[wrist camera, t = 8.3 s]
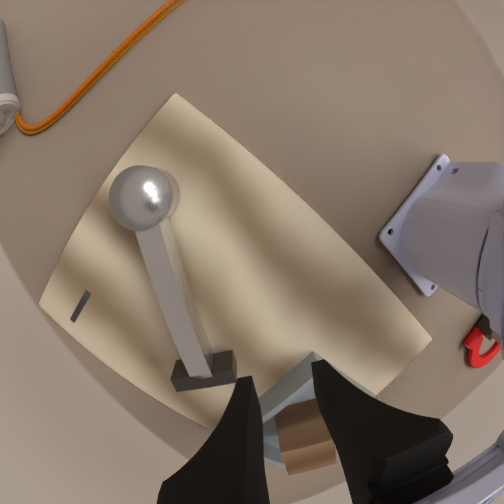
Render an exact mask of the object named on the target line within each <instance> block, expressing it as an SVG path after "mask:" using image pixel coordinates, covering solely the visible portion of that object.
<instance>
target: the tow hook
mask: <svg viewBox="0 0 504 504" xmlns="http://www.w3.org/2000/svg"><path fill="white" fill-rule="evenodd" d="M482 335H484V336H485V337H486V338H488V339H489V340H491V339H492V338H493V339H495V340H496V342H495V344H494V345H493V347H492V348H491V349H490V350H489V351H488V352H487V353H485V354H484V355H481V356H479V350H480V346H481V343H482V341H483V337H482ZM463 343H464V345H465V346H466V347H467V348H468V349H469V352H468V362H469V364H470V365H471V366H472V367H473V368H480V367H482V366H484V365H486V364H487V363H488V362H489V361H491V360H492V359H493V358H494V356H495V355H496V354H497V353H498V352H499V350H500V349H501V347H500V346H501V336H500V335H499V334H497V333H496V332H495V331H493V330H492V329H490V321H489V318H488V317H487V316H486V315H484V314H483V315H482V316H481V318H480V319H479V320H478V322H477V323H476V325H475V327H474V329H473V330H472V331H471V333H470V334H469V335H468V337H467V338H466V339H465V341H464V342H463Z"/></svg>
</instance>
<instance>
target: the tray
mask: <svg viewBox="0 0 504 504" xmlns="http://www.w3.org/2000/svg"><path fill="white" fill-rule="evenodd" d="M322 359H324V358H322V357H321V356H320V355H318V354H317V353H315V352H314V351H312V352H311V353H310V354H309V355H308V356H307V357H306V358H304V359H303V360H302V361H301V362H300V363H299V364H298V365H297V366H296V367H294V368H293V369H292V370H291V371H290V372H289V373H288V374H286V375H285V376H284V377H283V378H282V379H281V380H279V381H278V382H277V383H276V384H275V385H274V386H272V387H271V388H270V389H269V390H268V391H266V392H265V393H264V394H263V395H261V396H260V397H259V398H258V400H259V403H260V407H261V414H262V420H263V439H264V461H265V462H267V463H270V464H273V465H276V466H279V467H282V468H285V469H286V466H285V464H284V461H283V458H282V455H281V453H280V447H279V441H278V435H277V429H276V423H275V417H274V415H276V414H277V413H278V412H280V411H281V410H282V409H283V408H285V407H286V406H288V405H292V404H296V403H300V402H303V401H307V400H311V399H314V398H316V397H315V393H314V384H313V376H312V367H311V362H315V361H318V360H322ZM327 362H328V361H327ZM328 363H329V362H328ZM329 364H330V365H331V366H332V367H333V368H334V369H336V370H337V371H338V372H339V373H340V374H341V375H342V376H343V377H345V378H346V379H347V380H348V381H350V382H351V383H352V384H354V385H355V386H356V387H358V388H359V389H361V390H362V391H364V392H365V393H367V394H368V395H370V396H372V397H373V398H375V399H377V398H376V397H375V395H374V393H372V392H371V391H369V390H368V389H366V388H365V387H363V386H362V385H361V384H359V383H358V382H356V381H355V380H353V379H352V378H350V377H349V376H348V375H346V374H345V373H343V372H342V371H341V370H339V369H338V368H336V367H335V366H333V365H332V364H331V363H329Z"/></svg>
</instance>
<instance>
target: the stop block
mask: <svg viewBox="0 0 504 504" xmlns="http://www.w3.org/2000/svg"><path fill="white" fill-rule="evenodd" d="M274 417H275V423H276V429H277V435H278V441H279V447H280V453H281V455H282V458H283V461H284V464H285V466H286V469H287V472H288V474H289V475H292V474H297V473H301V472H305V471H309V470H313V469H317V468H321V467H324V466H328V465H331V464H335V463H336V455H335V444H334V442H333V439H332V437H331V435H330V433H329V431H328V428H327V426H326V424H325V422H324V419H323V417H322V415H321V413H320V410H319V407H318V404H317V400H316V398H314V399H311V400H307V401H303V402H300V403H296V404H292V405H288V406H286V407H285V408H283V409H282V410H281V411H280V412H278V413H277V414H276V415H274Z"/></svg>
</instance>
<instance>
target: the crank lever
mask: <svg viewBox="0 0 504 504" xmlns="http://www.w3.org/2000/svg"><path fill="white" fill-rule="evenodd" d="M179 201H180V189H179V185H178V183H177V181H176V179H175V178H174V177H173V175H172V174H170V173H169V172H168V171H166V170H164V169H161V168H156V167H150V166H143V165H136V166H131V167H128V168H126V169H125V170H123V171H122V172H120V173H119V174H118V175H117V176H116V178H115V179H114V181H113V183H112V185H111V187H110V191H109V207H110V210H111V213H112V215H113V217H114V218H115V220H116V221H117V222H118V223H119V224H120V225H121V226H123V227H124V228H126V229H128V230H131V231H135V233H136V236H137V240H138V243H139V246H140V249H141V253H142V256H143V259H144V262H145V265H146V268H147V271H148V274H149V277H150V280H151V282H152V285H153V288H154V291H155V294H156V296H157V299H158V302H159V305H160V307H161V310H162V312H163V315H164V318H165V320H166V323H167V325H168V328H169V330H170V333H171V335H172V337H173V340H174V342H175V345H176V347H177V349H178V352H179V354H180V356H181V359H180V360H176V362H175V365H174V368H173V372H172V375H171V378H170V380H171V382H172V384H173V386H174V388H175V390H176V392H181V391H189V390H196V389H203V388H209V387H215V386H221V385H227V384H232V383H236V380H237V361H236V358H235V355H234V352H233V350H228V351H224V352H219V353H213V351H212V349H211V346H210V343H209V341H208V338H207V335H206V332H205V330H204V327H203V324H202V321H201V318H200V316H199V313H198V310H197V307H196V304H195V301H194V298H193V295H192V292H191V289H190V286H189V283H188V280H187V277H186V274H185V270H184V267H183V264H182V261H181V257H180V254H179V251H178V248H177V244H176V241H175V237H174V234H173V230H172V227H171V223H170V220H169V218H170V217H171V216H172V215H173V214H174V212H175V211H176V209H177V207H178V204H179Z"/></svg>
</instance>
